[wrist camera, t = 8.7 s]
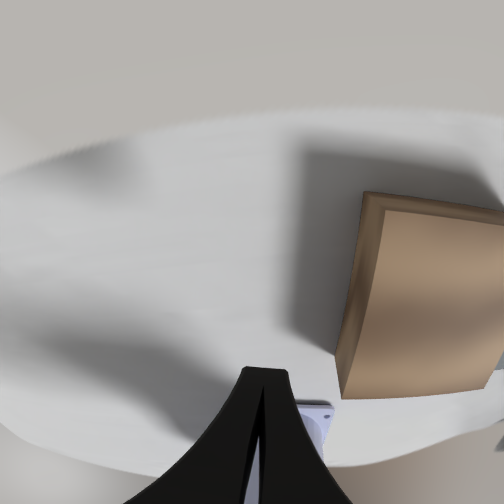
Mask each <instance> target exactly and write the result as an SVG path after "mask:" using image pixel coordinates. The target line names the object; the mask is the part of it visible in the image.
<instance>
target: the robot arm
mask: <svg viewBox="0 0 504 504" xmlns="http://www.w3.org/2000/svg"><path fill="white" fill-rule="evenodd" d="M334 413H335V410H334V407H333V406H330V405H298V404H296V402H295V399H294V396H293V393H292V389H291V385H290V381H289V375H288V372H287V371H286V370H285V369H273V368H260V367H249V366H246V367H244V368H242V371H241V374H240V376H239V378H238V380H237V383H236V385H235V386H234V388H233V390H232V392H231V394H230V395H229V397H228V399H227V400H226V402H225V403H224V405H223V407H222V408H221V410H220V411H219V413H218V414H217V416H216V417H215V419H214V420H213V421H212V422H211V424H210V425H209V426H208V428H207V429H206V430H205V432H204V433H203V434H202V435H201V437H200V438H199V439H198V440H197V441H196V442H195V444H194V445H193V446H192V447H191V448H190V449H189V450H188V451H187V452H186V453H185V454H184V455H183V456H182V457H181V458H180V459H179V460H178V461H177V462H176V463H175V464H174V465H173V466H172V467H171V468H170V469H169V470H168V471H166V472H165V473H164V474H163V475H162V476H161V477H160V478H158V479H157V480H156V481H155V482H153V483H152V484H151V485H149V486H148V487H146V488H145V489H144V490H142V491H141V492H140V493H138V494H137V495H136V496H134V497H133V498H131V499H130V500H128V501H126V502H125V503H123V504H353V503H352V502H351V501H350V500H349V498H348V497H347V496H346V495H345V493H344V492H343V491H342V490H341V488H340V487H339V486H338V484H337V483H336V481H335V480H334V478H333V477H332V475H331V474H330V472H329V470H328V469H327V467H326V466H325V464H324V459H323V444H324V441H325V438H326V436H327V433H328V430H329V427H330V424H331V421H332V418H333V416H334Z"/></svg>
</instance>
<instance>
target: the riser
mask: <svg viewBox="0 0 504 504" xmlns="http://www.w3.org/2000/svg"><path fill="white" fill-rule="evenodd" d="M503 351H504V212H501V211H496V210H490V209H485V208H479V207H474V206H468V205H462V204H456V203H449V202H443V201H436V200H430V199H423V198H415V197H408V196H400V195H392V194H384V193H376V192H367V191H364V194H363V202H362V210H361V218H360V225H359V232H358V239H357V245H356V251H355V258H354V264H353V269H352V275H351V281H350V286H349V291H348V297H347V302H346V307H345V312H344V317H343V321H342V326H341V331H340V335H339V340H338V344H337V348H336V352H335V362H336V368H337V374H338V381H339V387H340V393H341V399H385V398H404V397H418V396H429V395H439V394H448V393H457V392H464V391H471V390H478V389H484V387H485V385H486V384H487V382H488V380H489V378H490V376H491V375H492V373H493V371H494V369H495V367H496V365H497V363H498V361H499V359H500V357H501V355H502V353H503Z"/></svg>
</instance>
